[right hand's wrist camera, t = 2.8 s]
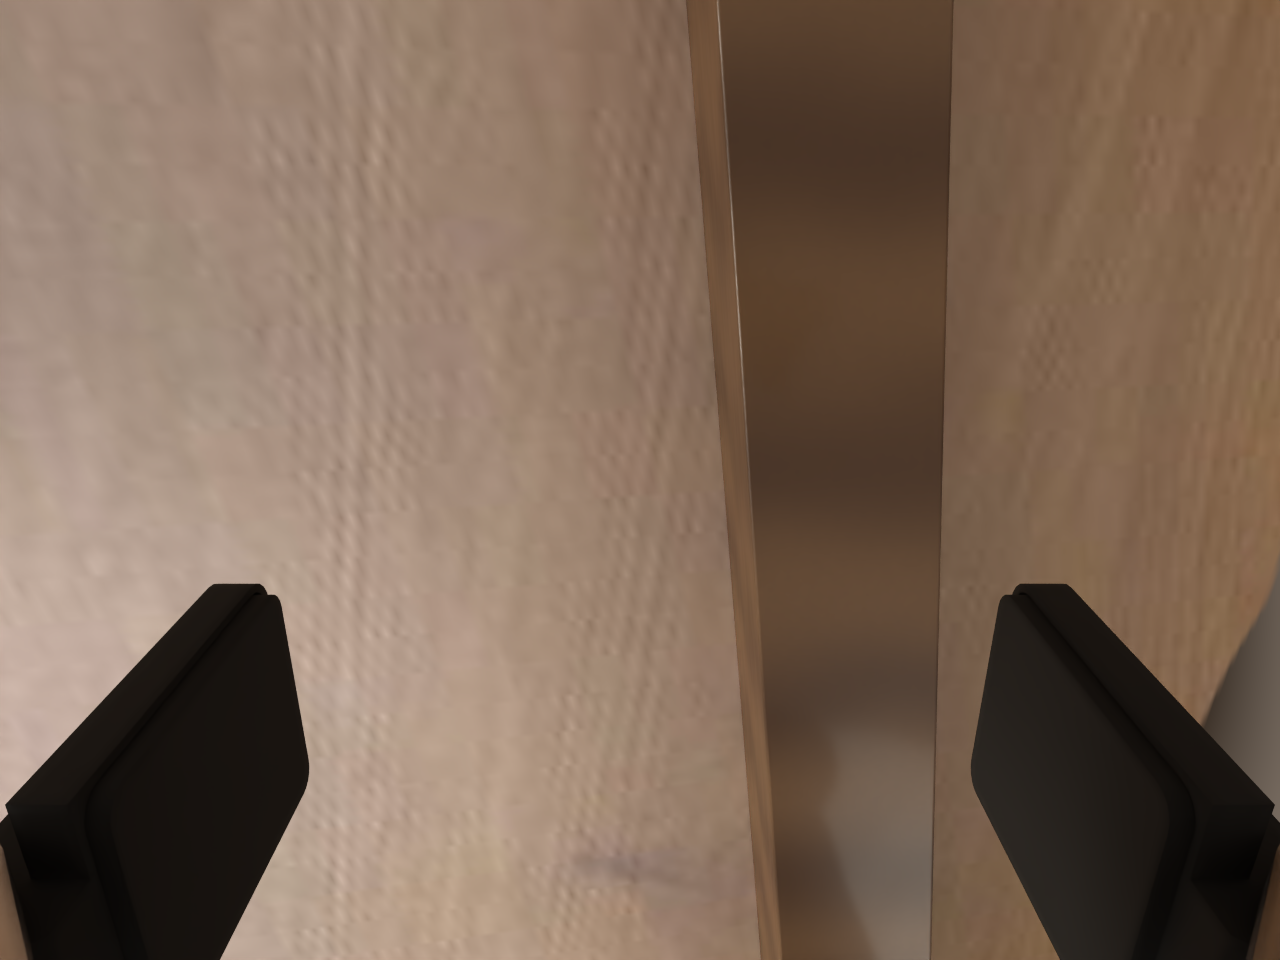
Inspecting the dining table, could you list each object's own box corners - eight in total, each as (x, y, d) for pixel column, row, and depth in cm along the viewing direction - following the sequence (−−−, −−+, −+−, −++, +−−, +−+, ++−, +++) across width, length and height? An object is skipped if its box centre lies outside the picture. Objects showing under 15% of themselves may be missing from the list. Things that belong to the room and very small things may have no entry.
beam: (669, -211, 22) (690, -381, 15) (851, -234, 22) (965, -417, 14) (777, 1167, 43) (808, 1384, 35) (871, 1159, 42) (921, 1375, 35)
